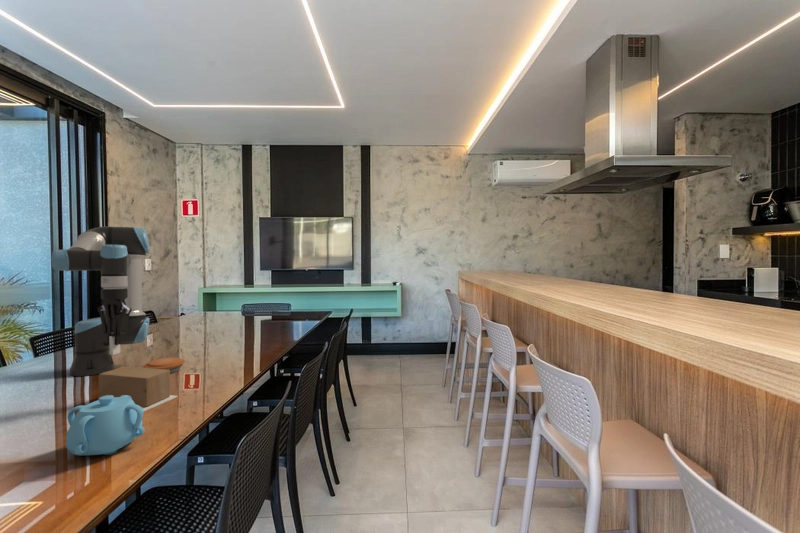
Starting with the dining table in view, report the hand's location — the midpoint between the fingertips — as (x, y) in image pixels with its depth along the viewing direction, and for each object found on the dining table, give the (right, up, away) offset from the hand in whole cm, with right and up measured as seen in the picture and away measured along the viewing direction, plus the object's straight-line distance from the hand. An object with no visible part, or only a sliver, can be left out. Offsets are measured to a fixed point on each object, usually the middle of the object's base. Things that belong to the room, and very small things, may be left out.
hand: (115, 353), depth 132 cm
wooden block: (-2, -11, +1) cm, 11 cm away
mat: (+10, -17, -2) cm, 19 cm away
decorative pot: (+23, -18, -32) cm, 43 cm away
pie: (-3, -16, +33) cm, 37 cm away
